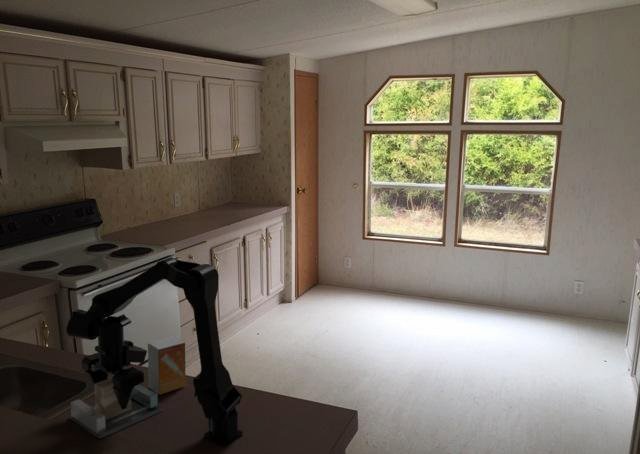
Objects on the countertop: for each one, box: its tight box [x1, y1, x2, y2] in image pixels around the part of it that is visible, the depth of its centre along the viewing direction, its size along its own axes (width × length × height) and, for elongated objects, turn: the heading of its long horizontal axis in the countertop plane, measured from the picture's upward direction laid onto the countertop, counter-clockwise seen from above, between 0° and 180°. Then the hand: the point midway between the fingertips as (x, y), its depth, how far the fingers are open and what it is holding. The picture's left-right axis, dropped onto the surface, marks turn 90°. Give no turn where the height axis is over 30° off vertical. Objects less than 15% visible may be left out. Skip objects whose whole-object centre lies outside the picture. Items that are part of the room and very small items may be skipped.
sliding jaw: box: [131, 384, 159, 409], centre depth 130 cm, size 12×2×3 cm, turn 52°
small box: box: [147, 335, 186, 396], centre depth 139 cm, size 8×6×13 cm
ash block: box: [94, 377, 131, 420], centre depth 124 cm, size 4×7×8 cm, turn 142°
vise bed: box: [69, 398, 164, 440], centre depth 125 cm, size 14×16×4 cm
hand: (113, 402), depth 124 cm, fingers open, 9 cm apart
